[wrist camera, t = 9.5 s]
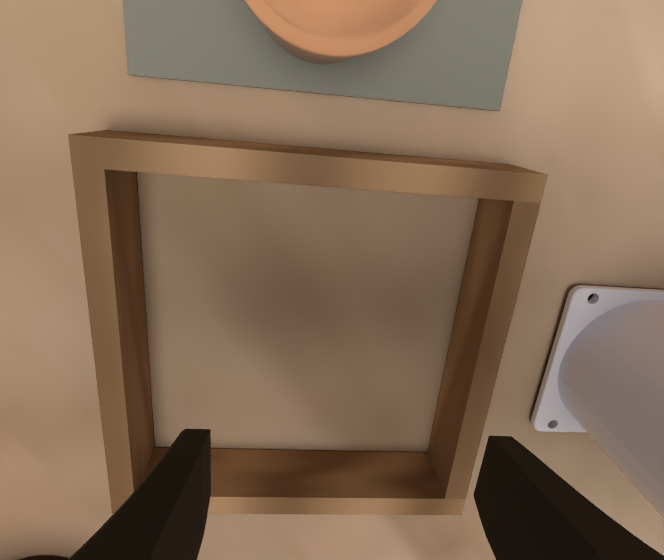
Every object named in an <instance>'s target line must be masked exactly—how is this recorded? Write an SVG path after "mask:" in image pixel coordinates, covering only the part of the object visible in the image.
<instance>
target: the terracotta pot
mask: <svg viewBox="0 0 664 560" xmlns="http://www.w3.org/2000/svg"><path fill="white" fill-rule="evenodd" d="M436 1H437V0H244V2H245V3H246V5H247V6H248V7H249V9H250V10H251V12H252V13H253V15H254V16H255V17H256V18H257V19H258V20H259V21H260V22H261V24H262V25H263V26H264V27H265V29H266V30H267V31H268V33H269V34H270V36H271V37H272V38H273V39H274V40H275V41H276V43H277V44H278V45H279V46H281V47H282V48H283V49H284V50H285V51H287V52H288V53H290V54H291V55H293V56H295V57H297V58H299V59H301V60H304V61H307V62H310V63H316V64H334V63H339V62H343V61H346V60H348V59H351V58H355V57H359V56H363V55H367V54H370V53H372V52H375V51H377V50H379V49H382V48H384V47H385V46H387V45H389V44H390V43H392V42H393V41H395V40H397V39H398V38H400V37H401V36H403V35H404V34H405V33H406V32H408V31H409V30H410V29H411V28H413V27H414V26H415V25H416V24H417V23H418V22H419V21H420V20H421V19H422V18H423V17H424V16H425V15H426V14H427V13H428V11H429V10H430V9H431V8H432V6H433V5H434V4H435V2H436Z"/></svg>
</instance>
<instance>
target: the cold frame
mask: <svg viewBox="0 0 664 560" xmlns="http://www.w3.org/2000/svg"><path fill="white" fill-rule="evenodd" d="M68 136H69V145H70V153H71V162H72V171H73V179H74V188H75V196H76V205H77V214H78V222H79V231H80V239H81V248H82V257H83V265H84V274H85V283H86V291H87V300H88V308H89V317H90V326H91V334H92V343H93V351H94V360H95V369H96V377H97V386H98V394H99V403H100V412H101V420H102V429H103V438H104V446H105V455H106V463H107V472H108V481H109V489H110V498H111V506H112V513H115V512H116V511H117V510H118V509H119V508H120V507H121V506H122V504H123V503H124V502H125V501H126V500H127V499H128V498H129V497H130V496H131V495H132V493H133V492H134V491H135V490H136V489H137V487H138V486H139V485H140V484H141V483H142V482H143V480H144V479H145V478H146V477H147V476H148V475H149V473H150V472H151V471H152V470H153V468H154V467H155V466H156V465H157V463H158V462H159V461H160V460H161V458H162V457H163V456H164V455H165V453H166V452H167V451H168V449H169V448H157V447H155V444H154V429H153V414H152V398H151V383H150V368H149V353H148V338H147V323H146V308H145V293H144V278H143V263H142V248H141V233H140V218H139V203H138V188H137V173H136V172H145V173H158V174H171V175H184V176H197V177H210V178H223V179H236V180H249V181H262V182H275V183H288V184H301V185H314V186H327V187H340V188H353V189H366V190H379V191H392V192H405V193H418V194H431V195H444V196H457V197H470V198H479V203H478V208H477V213H476V218H475V223H474V228H473V233H472V237H471V242H470V247H469V252H468V257H467V262H466V267H465V272H464V276H463V281H462V286H461V291H460V296H459V301H458V306H457V311H456V316H455V320H454V325H453V330H452V335H451V340H450V345H449V350H448V355H447V360H446V364H445V369H444V374H443V379H442V384H441V389H440V394H439V399H438V404H437V408H436V413H435V418H434V423H433V428H432V433H431V438H430V443H429V448H428V452H427V453H418V452H366V451H314V450H262V449H211V496H210V502H209V508H208V513H207V514H375V515H462V511H463V507H464V503H465V499H466V495H467V491H468V487H469V483H470V479H471V475H472V471H473V467H474V463H475V460H476V456H477V452H478V448H479V444H480V440H481V436H482V432H483V428H484V424H485V420H486V416H487V412H488V408H489V404H490V400H491V397H492V393H493V389H494V385H495V381H496V377H497V373H498V369H499V365H500V361H501V357H502V353H503V349H504V345H505V341H506V338H507V334H508V330H509V326H510V322H511V318H512V314H513V310H514V306H515V302H516V298H517V294H518V290H519V286H520V282H521V279H522V275H523V271H524V267H525V263H526V259H527V255H528V251H529V247H530V243H531V239H532V235H533V231H534V227H535V223H536V220H537V216H538V212H539V208H540V204H541V200H542V196H543V192H544V188H545V184H546V180H547V176H548V175H547V174H544V173H540V172H536V171H532V170H528V169H525V168H521V167H517V166H513V165H509V164H497V163H485V162H473V161H462V160H450V159H438V158H426V157H415V156H403V155H391V154H379V153H368V152H356V151H344V150H333V149H321V148H309V147H297V146H286V145H274V144H262V143H250V142H239V141H227V140H215V139H203V138H192V137H180V136H168V135H157V134H145V133H133V132H121V131H110V130H104V131H95V132H86V133H77V134H69V135H68Z"/></svg>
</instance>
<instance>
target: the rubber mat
mask: <svg viewBox="0 0 664 560" xmlns="http://www.w3.org/2000/svg"><path fill="white" fill-rule="evenodd" d="M521 4H522V0H437V1H436V2H435V4H434V5H433V6H432V8H431V9H430V10H429V11H428V13H427V14H426V15H425V16H424V17H423V18H422V19H421V20H420V21H419V22H418V23H417V24H416V25H415V26H414V27H413V28H411V29H410V30H409V31H408V32H406V33H405V34H404V35H403V36H401V37H400V38H398V39H397V40H395V41H393V42H392V43H390V44H389V45H387V46H385V47H384V48H382V49H379V50H377V51H375V52H372V53H370V54H367V55H363V56H359V57H355V58H351V59H348V60H346V61H343V62H339V63H334V64H316V63H310V62H307V61H304V60H301V59H299V58H297V57H295V56H293V55H291V54H290V53H288V52H287V51H285V50H284V49H283V48H282V47H281V46H279V45H278V44H277V43H276V41H275V40H274V39H273V38H272V37H271V36H270V34H269V33H268V31H267V30H266V29H265V27H264V26H263V25H262V24H261V22H260V21H259V20H258V19H257V18H256V17H255V16H254V15H253V13H252V12H251V10H250V9H249V7H248V6H247V5H246V3H245V2H244V0H123V8H124V23H125V37H126V52H127V67H128V75H134V76H144V77H155V78H165V79H175V80H186V81H196V82H206V83H216V84H227V85H237V86H247V87H258V88H268V89H278V90H288V91H299V92H309V93H319V94H330V95H340V96H350V97H360V98H371V99H381V100H391V101H402V102H412V103H422V104H432V105H443V106H453V107H463V108H474V109H484V110H494V111H500V106H501V101H502V96H503V92H504V87H505V82H506V77H507V72H508V67H509V62H510V58H511V53H512V48H513V43H514V38H515V33H516V29H517V24H518V19H519V14H520V9H521Z"/></svg>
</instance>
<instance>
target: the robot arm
mask: <svg viewBox="0 0 664 560" xmlns="http://www.w3.org/2000/svg"><path fill="white" fill-rule="evenodd" d="M591 294H593V297H592V298H591V299H590V300H588V297H589V296H590V295H591ZM552 420H553V421H552ZM550 421H552V422H551V423H549V422H550ZM531 424H532V426H533V427H534V429H536V430H537V431H543V432H584V433H588V434H589V435H590V436H591V437H592V438H593V439H594V441H595V442H596V443H597V444H598V445H599V446H600V447H601V448H602V450H603V451H604V452H605V453H606V454H607V455H608V456H609V457H610V459H611V460H612V461H613V462H614V463H615V464H616V465H617V466H618V467H619V469H620V470H621V471H622V472H623V473H624V474H625V475H626V476H627V478H628V479H629V480H630V481H631V482H632V483H633V484H634V485H635V487H636V488H637V489H638V490H639V491H640V492H641V493H642V494H643V496H644V497H645V498H646V499H647V500H648V501H649V502H650V503H651V504H652V506H653V507H654V508H655V509H656V510H657V511H658V512H659V513H660V515H661V516H662V517H663V518H664V290H657V289H640V288H623V287H606V286H589V285H578V286H575V287H573V288H572V289H571V290H570V292H569V294H568V297H567V300H566V303H565V307H564V310H563V313H562V317H561V320H560V324H559V327H558V330H557V334H556V337H555V340H554V344H553V347H552V350H551V354H550V357H549V360H548V364H547V367H546V371H545V374H544V377H543V381H542V384H541V387H540V391H539V394H538V397H537V401H536V404H535V408H534V411H533V414H532V418H531ZM210 496H211V442H210V429H185V430H183V431H182V432H181V433H180V434H179V436H178V437H177V438H176V440H175V441H174V443H173V444H172V445H171V447H170V448H169V449H168V451H167V452H166V453H165V455H164V456H163V457H162V458H161V460H160V461H159V462H158V463H157V465H156V466H155V467H154V468H153V470H152V471H151V472H150V473H149V475H148V476H147V477H146V478H145V479H144V480H143V482H142V483H141V484H140V485H139V486H138V487H137V489H136V490H135V491H134V492H133V493H132V495H131V496H130V497H129V498H128V499H127V500H126V501H125V502H124V503H123V504H122V506H121V507H120V508H119V509H118V510H117V511H116V512H115V513H114V514H113V515H112V516H111V517H110V518H109V519H108V521H107V522H106V523H105V524H104V525H103V526H102V527H101V528H100V529H99V530H98V531H97V532H96V533H95V534H94V535H93V536H92V537H91V538H90V539H89V540H88V541H87V542H86V543H85V544H84V545H83V546H82V547H81V548H80V549H79V550H78V551H77V552H76V553H74V554H73V555H72V556H71V557H70V558H69V559H68V560H197V557H198V553H199V550H200V546H201V543H202V539H203V535H204V530H205V524H206V519H207V513H208V508H209V502H210ZM474 499H475V502H476V506H477V509H478V512H479V516H480V519H481V522H482V525H483V528H484V531H485V534H486V537H487V539H488V542H489V544H490V546H491V549H492V551H493V553H494V555H495V558H496V560H664V556H663V555H661V554H660V553H659V552H657V551H656V550H654V549H653V548H651V547H650V546H648V545H647V544H645V543H644V542H643V541H641V540H640V539H638V538H637V537H636V536H634V535H633V534H632V533H630V532H629V531H628V530H626V529H625V528H624V527H622V526H621V525H620V524H618V523H617V522H616V521H614V520H613V519H612V518H610V517H609V516H608V515H606V514H605V513H604V512H603V511H601V510H600V509H599V508H598V507H596V506H595V505H594V504H592V503H591V502H590V501H589V500H587V499H586V498H585V497H584V496H583V495H581V494H580V493H579V492H578V491H576V490H575V489H574V488H573V487H572V486H570V485H569V484H568V483H567V482H566V481H564V480H563V479H562V478H561V477H560V476H558V475H557V474H556V473H555V472H554V471H553V470H551V469H550V468H549V467H548V466H547V465H545V464H544V463H543V462H542V461H541V460H540V459H538V458H537V457H536V456H535V455H534V454H532V453H531V452H530V451H529V450H528V449H526V448H525V447H524V446H523V445H522V444H520V443H519V442H518V441H517V440H515V439H514V438H513V437H511V436H489V438H488V442H487V446H486V450H485V453H484V457H483V461H482V465H481V469H480V472H479V476H478V480H477V484H476V488H475V492H474Z"/></svg>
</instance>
